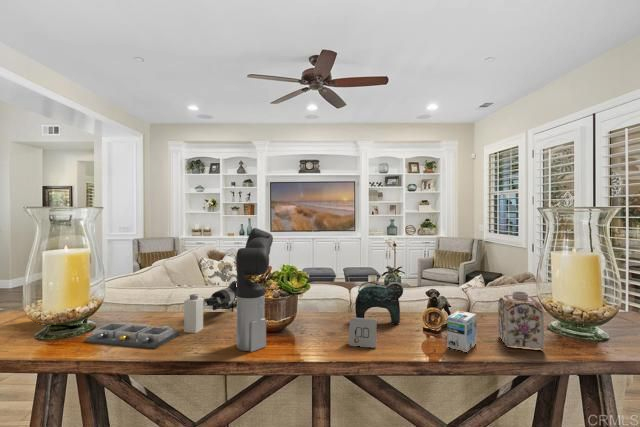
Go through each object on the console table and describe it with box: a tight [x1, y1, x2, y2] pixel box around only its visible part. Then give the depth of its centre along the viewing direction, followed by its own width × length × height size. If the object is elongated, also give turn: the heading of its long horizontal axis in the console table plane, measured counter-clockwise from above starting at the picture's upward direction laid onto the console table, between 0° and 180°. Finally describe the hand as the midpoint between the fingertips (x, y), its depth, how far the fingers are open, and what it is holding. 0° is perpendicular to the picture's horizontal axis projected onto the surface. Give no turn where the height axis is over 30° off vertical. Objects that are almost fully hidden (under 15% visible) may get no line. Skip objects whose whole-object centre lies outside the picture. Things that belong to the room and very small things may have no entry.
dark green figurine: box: [354, 273, 404, 324], centre depth 145 cm, size 20×6×20 cm, turn 82°
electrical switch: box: [348, 317, 378, 349], centre depth 120 cm, size 9×5×9 cm, turn 78°
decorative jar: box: [497, 290, 545, 350], centre depth 121 cm, size 12×12×18 cm
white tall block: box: [183, 293, 204, 334], centre depth 133 cm, size 5×5×14 cm
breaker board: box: [85, 321, 180, 350], centre depth 124 cm, size 27×13×4 cm, turn 78°
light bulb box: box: [446, 310, 478, 351], centre depth 119 cm, size 11×7×11 cm, turn 139°
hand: (203, 307), depth 140 cm, fingers open, 8 cm apart
